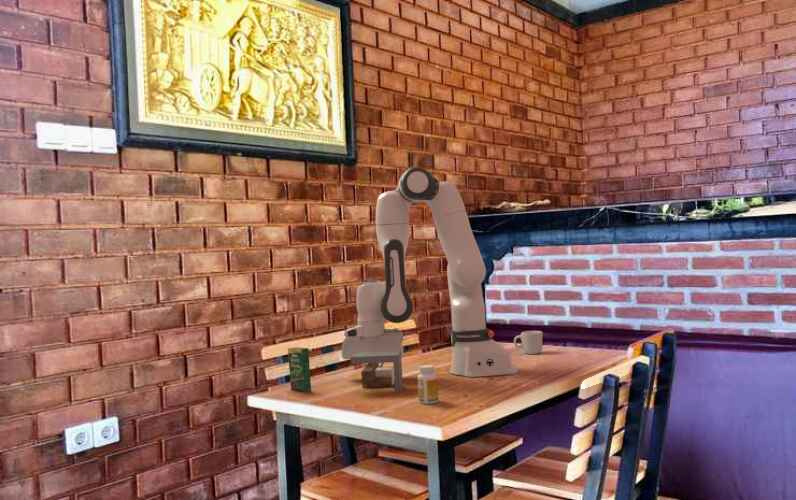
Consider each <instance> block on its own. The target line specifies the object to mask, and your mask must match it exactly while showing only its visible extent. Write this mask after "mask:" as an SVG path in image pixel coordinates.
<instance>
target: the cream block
mask: <svg viewBox="0 0 796 500" xmlns="http://www.w3.org/2000/svg"><path fill="white" fill-rule="evenodd" d="M375 372H376V376H392V386H393V385H394V384H395V381H394V366H383V367H377V369H376V370H375Z"/></svg>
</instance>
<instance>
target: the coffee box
mask: <svg viewBox="0 0 796 500" xmlns="http://www.w3.org/2000/svg"><path fill="white" fill-rule="evenodd" d="M287 351H288V352H287V353H288V354H287V355H288V367H289V379H290V380H289V381H290V390H294V391H298V392H304V393H306V392H311V391H312V386H311V371H310V370H311V369H310V366H311V365H310V355H309V354H310V352H309V351H310V350H309V348H308V347H298V346H292V347H288V348H287Z"/></svg>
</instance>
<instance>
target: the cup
mask: <svg viewBox="0 0 796 500" xmlns="http://www.w3.org/2000/svg"><path fill="white" fill-rule="evenodd" d="M543 333H544V332H543V331H541V330H525V331H522V332H521V333H520V335H519V334H518V335H516V336H515V337H514V338H513V345H514V346H515V347H516V349H517V348H518V349H523V352H524V353H525V354H526V353H527V354H526V355H538V353H539V354H541V353H542V351H543V335H544V334H543ZM518 339H520V341H521V344H520V345H518V343H517V340H518Z"/></svg>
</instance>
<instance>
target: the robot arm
mask: <svg viewBox="0 0 796 500" xmlns="http://www.w3.org/2000/svg"><path fill="white" fill-rule="evenodd" d="M421 202H424V203H426V204H427V206H428V207H429V209H430V211H431V216H432V219H433V222H434V225H435V228H436V232H437V236H438V240H439V243H440V245H441V247H442V250H443V253H444V254H445V255H444V256H445V258H446V261H447V268H446V272H447V274H446V275H447V285H448V292H449V300H450V309H451V310H450V311H451V326H452V328H451V330H450V331H451V332H450V338H451V340H450V341H451V342H450V343H451V346H452V357H451V366H450V370H449V373H450V374H453V375H456V376H464V377H469V378H473V377H475V378H476V377H478V378H479V377H489V376H490V377H491V376H503V375H505V376H506V375H515V374H518V372H520V369H519V366H518V365H517V364H514V363H512V357H511V355H510V352H509V351H508V350H507V349H506V347H504V346H502V345H500V344H499V343H498V342H497V341H495V340H494V339H493V338H494V336H495V331H493V330H491V329H489V328H487V325H486V324H487V323H486V308H485V307H486V306H485V301H484V297H483V290H482V283H483V281H484V280H485V278H486V275H487V268H486V265H485V262H484V258H483V256H482V254H481V251H480V249H479V246H478V244H477V241H476V238H475V236H474V233H473V230H472V227H471V224H470V220H469V216H468V214H467V211H466V207H465V204H464V201H463V199H462V197H461V194H460V192H459V190H458V188H457V186H456V184H455V183H453V182H451V181H445V180H443V181H439V180H438V179H437V178H436V177H435V176H434V175H433V174H432V173H431V172H430V171H428V170H427V169H426V168H424V167H420V166H412V167H409V168H408V169H406V170H405V171H404V172H403V173H402V174H401V176H400V178H399V181H398V183H397V186H396V188H395V190H388V191H384V192H382V193H381V194H379V196H378V197H377V200H376V206H375V207H376V208H375V233H376V238H377V244H378V246H379V249H380V252H381V255H382V258H383V262H384V263H383V264H384V275H385V276H384V277H385V279H384V280H385V283H383V282H382V281H380V280H379V279H373V280H368V281H365V282H361V283H360V284H359V285H358V286H357V289H356V295H355V296H356V297H355V298H356V299H355V300H356V303H355V304H356V311H357V319H356V320H357V325H354V326H352V327H350V328H347V329H346V330H345V331H344V332H343V334H344V337H345V338H344V339H343V340H342V344H341V358H343V360H351V356H352V355H353V354H354V353H360V352H385V351H401V357H402V356H403V355H404V346H403V345H404V344H403V340H404V332H403V331H402V330H400V329H399V328H385V319H386V321H388V322H390V323H392V324H401V323H403V322H404V323H405V322H406V321H407V320H408V319H410V317H411V315H412V313H413V312H414V309H413V308H414V306H413V301H412V299H411V296H410V295H409V293H408V290H407V286H406V271H405V258H406V253H407V249H408V245H409V241H410V240H409V238H410V218H409V217H410V215H409V213H410V212H409V211H410V208H411V206H414V205H417V204H421ZM361 365H362V367H363V369H364V368H365V367H366V366H367V363H362V364H361ZM384 365H385V363H380V365H379V366H378V367H384Z"/></svg>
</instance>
